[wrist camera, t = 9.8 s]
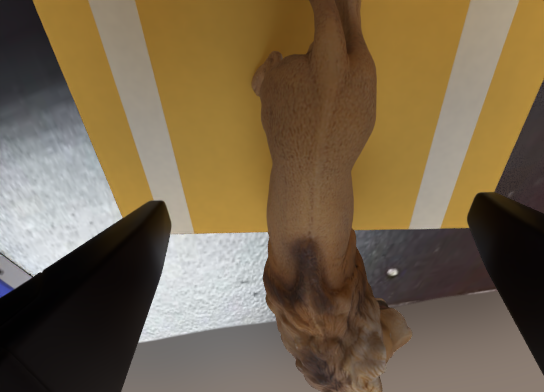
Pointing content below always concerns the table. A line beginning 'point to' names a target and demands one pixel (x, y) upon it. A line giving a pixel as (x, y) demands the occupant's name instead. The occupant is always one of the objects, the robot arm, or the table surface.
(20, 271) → the hard drive
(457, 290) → the table surface
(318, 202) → the lion figurine
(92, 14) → the towel
